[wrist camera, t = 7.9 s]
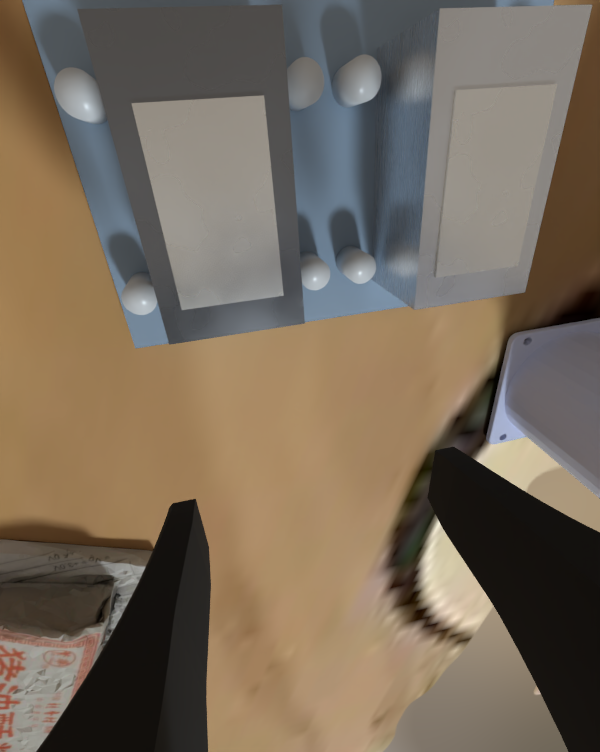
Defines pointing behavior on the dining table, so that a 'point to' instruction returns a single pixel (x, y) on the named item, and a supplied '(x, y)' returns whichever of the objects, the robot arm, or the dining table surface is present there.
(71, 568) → the packaged product
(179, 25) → the loose drive
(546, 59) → the seated drive
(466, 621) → the dining table surface
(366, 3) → the drive tray
